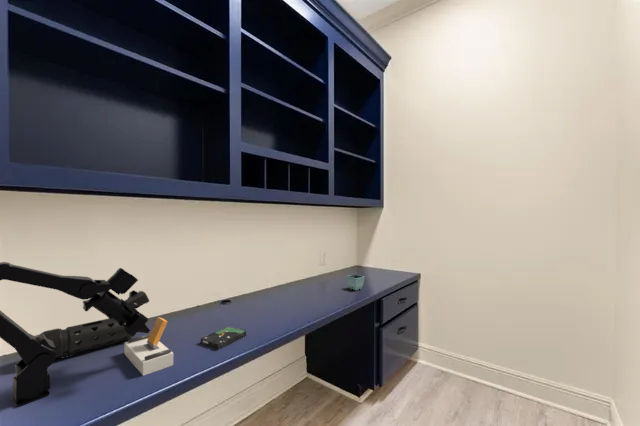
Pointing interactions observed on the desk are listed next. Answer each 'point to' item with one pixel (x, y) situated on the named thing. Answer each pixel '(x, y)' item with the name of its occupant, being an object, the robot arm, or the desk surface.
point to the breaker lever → (157, 332)
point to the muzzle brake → (86, 336)
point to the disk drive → (223, 337)
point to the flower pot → (355, 281)
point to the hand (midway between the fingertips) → (148, 331)
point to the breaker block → (147, 355)
